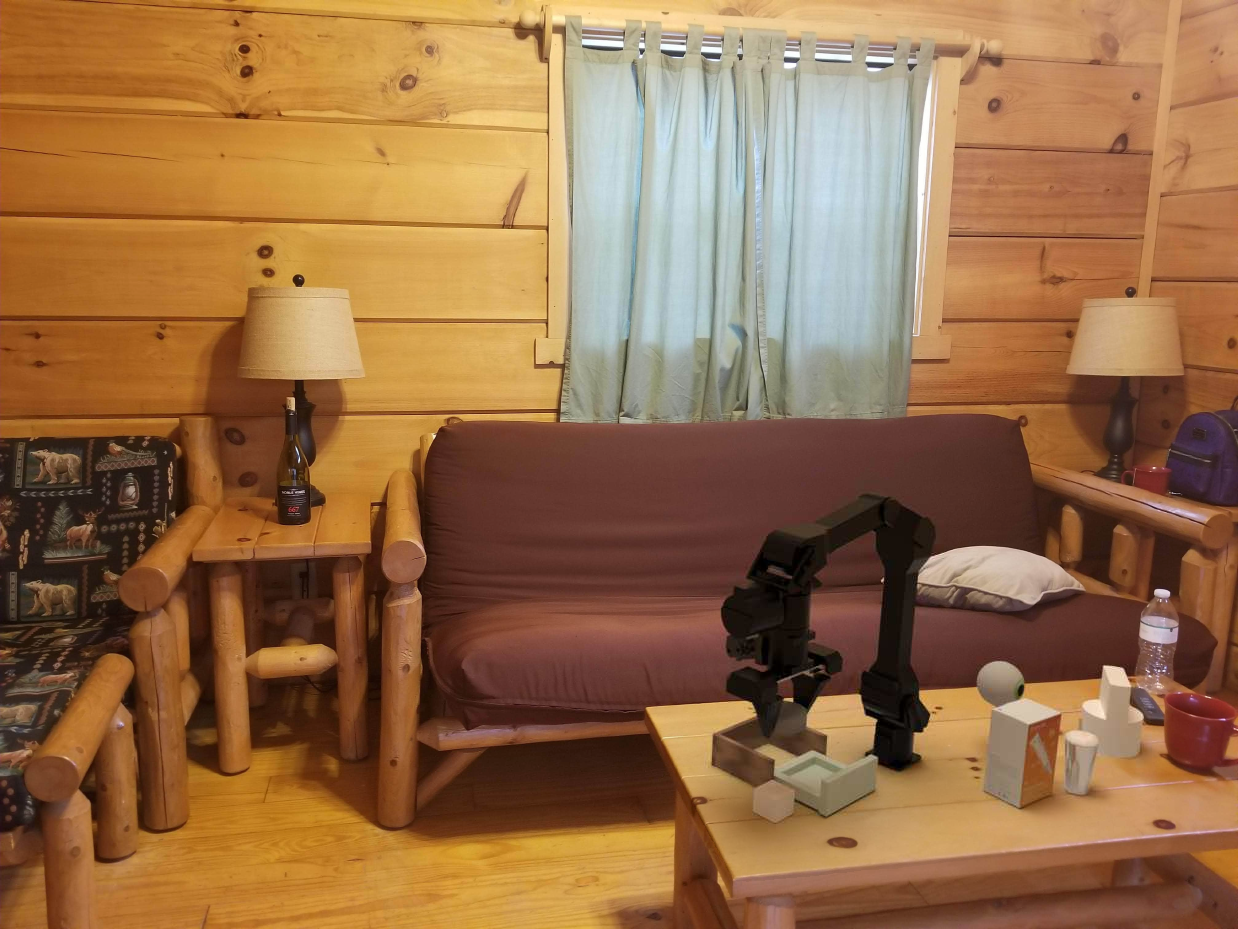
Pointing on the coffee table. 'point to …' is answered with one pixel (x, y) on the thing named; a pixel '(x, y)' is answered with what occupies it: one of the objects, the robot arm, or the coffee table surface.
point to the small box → (1022, 752)
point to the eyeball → (1000, 683)
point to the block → (773, 801)
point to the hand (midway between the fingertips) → (782, 730)
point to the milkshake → (1079, 760)
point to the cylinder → (791, 718)
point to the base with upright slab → (1114, 716)
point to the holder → (751, 766)
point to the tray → (827, 780)
